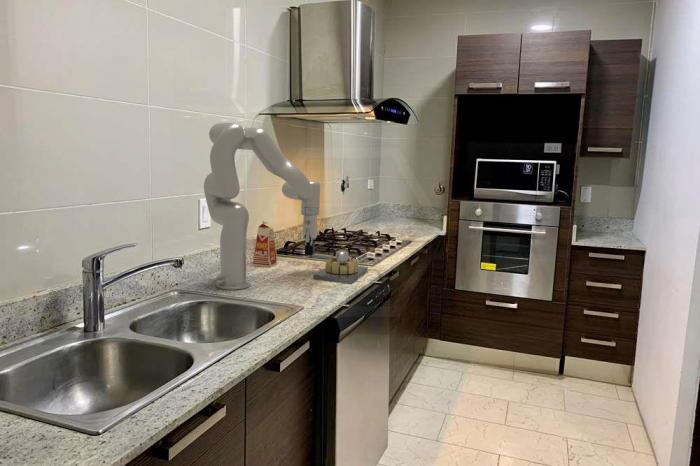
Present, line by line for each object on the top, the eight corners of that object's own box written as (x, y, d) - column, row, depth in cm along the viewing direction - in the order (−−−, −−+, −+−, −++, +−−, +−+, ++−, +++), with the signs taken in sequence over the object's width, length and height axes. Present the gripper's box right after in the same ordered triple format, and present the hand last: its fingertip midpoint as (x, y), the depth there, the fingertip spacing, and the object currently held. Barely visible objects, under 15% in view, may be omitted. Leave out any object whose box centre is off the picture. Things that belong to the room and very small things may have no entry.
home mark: (327, 270, 223) (327, 269, 223) (324, 271, 222) (324, 270, 222) (318, 267, 227) (318, 267, 227) (315, 268, 226) (315, 267, 226)
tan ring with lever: (362, 268, 219) (363, 246, 218) (350, 275, 207) (351, 251, 205) (314, 262, 228) (314, 240, 226) (300, 268, 215) (300, 245, 214)
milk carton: (271, 267, 225) (271, 222, 221) (251, 265, 227) (251, 220, 223) (278, 263, 234) (278, 219, 230) (258, 261, 235) (259, 218, 232)
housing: (350, 284, 203) (351, 259, 201) (313, 279, 208) (313, 255, 207) (367, 271, 224) (368, 249, 222) (333, 267, 229) (333, 245, 227)
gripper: (317, 213, 205) (315, 258, 208) (321, 209, 220) (319, 251, 223) (298, 212, 206) (297, 257, 209) (303, 208, 220) (302, 250, 223)
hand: (308, 254), depth 216 cm, fingers closed
